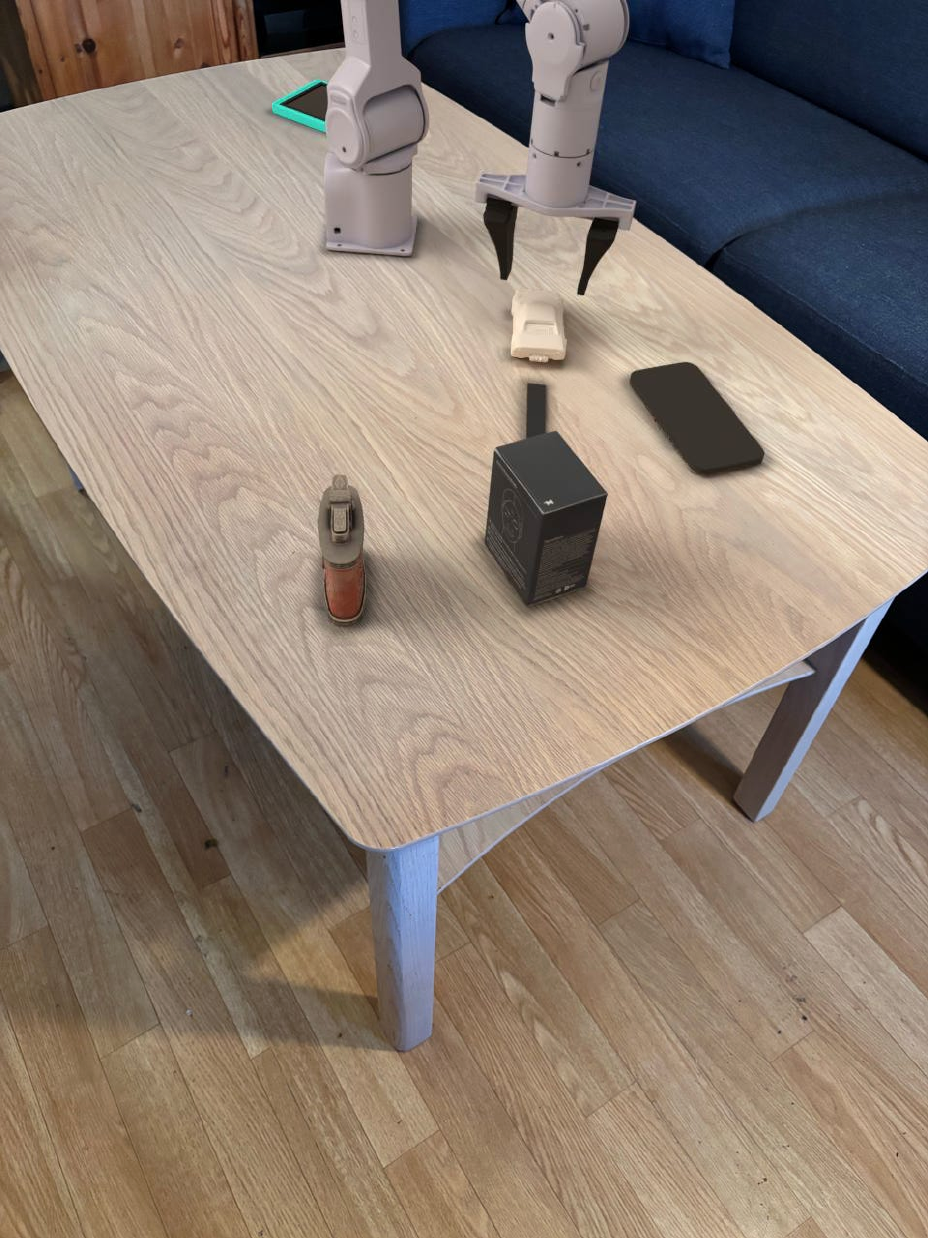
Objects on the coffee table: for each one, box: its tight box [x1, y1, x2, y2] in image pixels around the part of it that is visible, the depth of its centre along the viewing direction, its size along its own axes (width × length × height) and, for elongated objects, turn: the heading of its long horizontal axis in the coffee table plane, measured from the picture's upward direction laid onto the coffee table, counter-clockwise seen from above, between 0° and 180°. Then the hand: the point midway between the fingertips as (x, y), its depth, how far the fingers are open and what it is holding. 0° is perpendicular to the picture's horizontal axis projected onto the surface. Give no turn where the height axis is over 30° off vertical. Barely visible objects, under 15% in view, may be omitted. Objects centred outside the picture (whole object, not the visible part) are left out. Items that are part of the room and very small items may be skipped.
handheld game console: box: [271, 78, 329, 134], centre depth 126 cm, size 10×16×1 cm, turn 57°
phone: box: [629, 361, 766, 476], centre depth 91 cm, size 7×1×15 cm
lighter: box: [317, 473, 368, 629], centre depth 73 cm, size 8×3×10 cm, turn 5°
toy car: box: [510, 288, 568, 363], centre depth 98 cm, size 6×12×3 cm, turn 178°
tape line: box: [525, 382, 547, 439], centre depth 89 cm, size 2×15×1 cm, turn 177°
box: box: [484, 430, 609, 607], centre depth 75 cm, size 8×6×11 cm
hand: (543, 282), depth 95 cm, fingers open, 7 cm apart
